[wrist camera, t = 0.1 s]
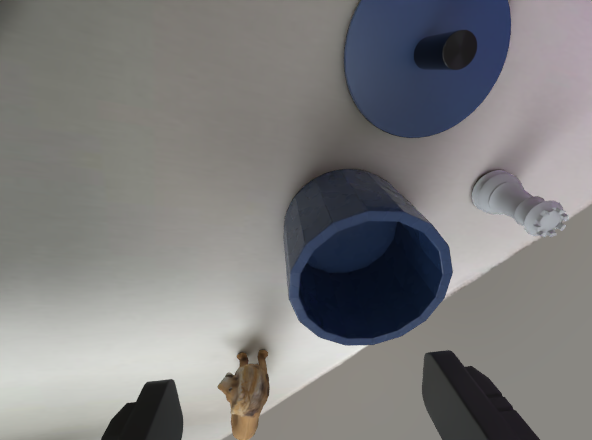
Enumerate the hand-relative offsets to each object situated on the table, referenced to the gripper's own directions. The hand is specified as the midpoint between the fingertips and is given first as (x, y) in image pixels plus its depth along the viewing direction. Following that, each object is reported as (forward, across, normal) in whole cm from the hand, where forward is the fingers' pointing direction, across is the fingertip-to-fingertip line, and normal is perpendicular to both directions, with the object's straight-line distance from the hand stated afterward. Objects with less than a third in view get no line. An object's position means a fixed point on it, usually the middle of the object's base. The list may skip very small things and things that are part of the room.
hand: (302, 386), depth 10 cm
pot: (+23, -6, +3) cm, 24 cm away
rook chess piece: (+23, -22, 0) cm, 31 cm away
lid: (+20, -13, -12) cm, 27 cm away
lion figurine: (+26, +6, +23) cm, 35 cm away
